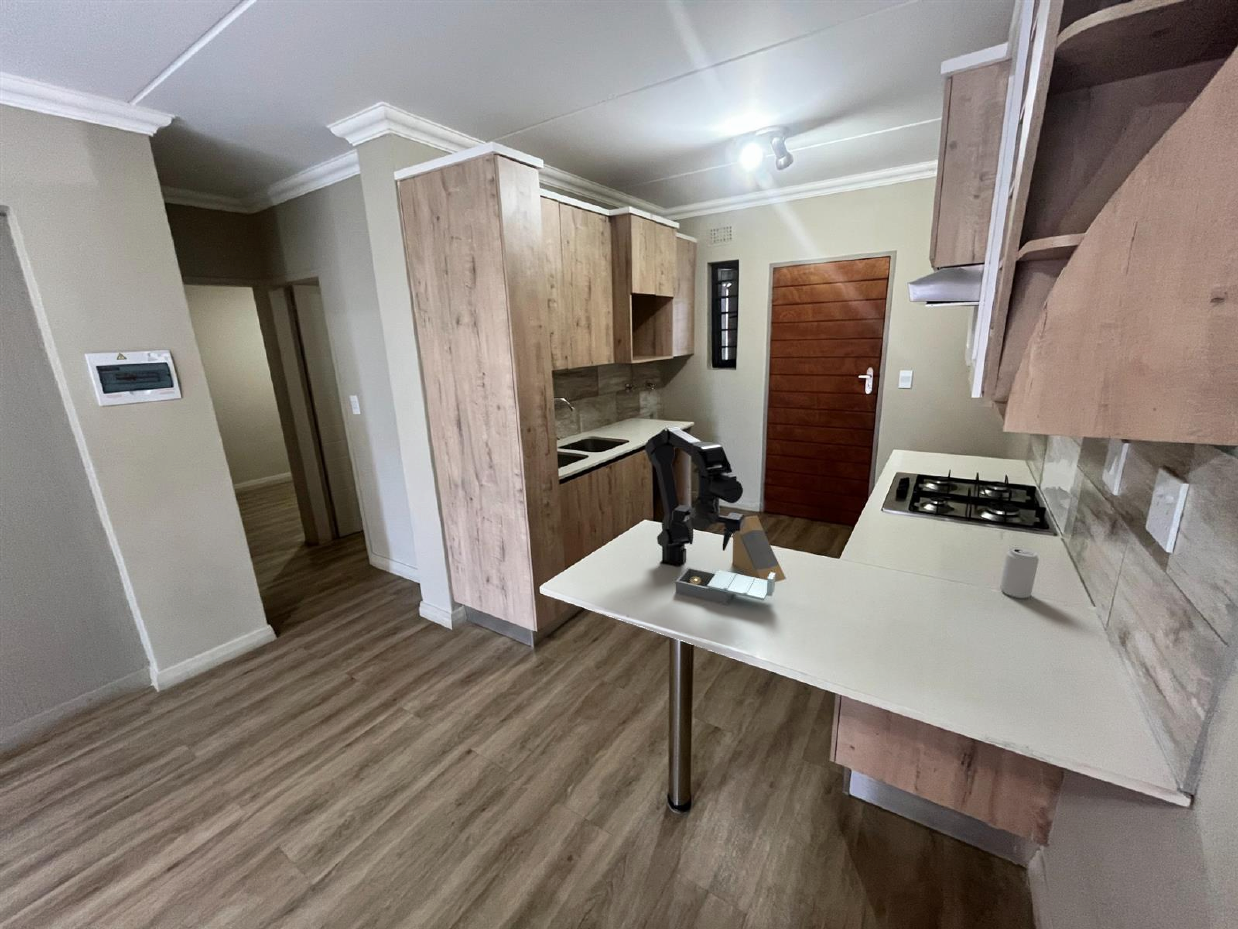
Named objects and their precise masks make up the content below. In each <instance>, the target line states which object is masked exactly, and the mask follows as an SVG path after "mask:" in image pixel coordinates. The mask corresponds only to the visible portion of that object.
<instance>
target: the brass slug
mask: <svg viewBox="0 0 1238 929" xmlns="http://www.w3.org/2000/svg"><path fill="white" fill-rule="evenodd" d="M690 583H691V584H695V585H700V586H701V579H700V578H699V577H691V578H690Z"/></svg>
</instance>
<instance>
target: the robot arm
mask: <svg viewBox="0 0 1238 929" xmlns="http://www.w3.org/2000/svg"><path fill="white" fill-rule="evenodd" d="M644 446H645V447H644V450H645V452H646V455H647V458H648V461H649V463H651V464H652V465H653V467H655V470H656V471H655V472H656V477H657V480H658V486H659V492H660V497H661V501H662V507H663V511H664V517H663V520H662V521H661V532H660V533H659V534H657V537H656V540H657V544H658V545H659V546H661V560H660V562H659V564H662V565H667V566H671V567H676V568H679V567H680V568H681V566H683V565H684V564H685V563H686V562H687V549H686V545H693V542H694V528H699V529H702V530H707V529H709V527H710V526H711V525H717V523H718V524H719V523H720V524H724V527H725V528H724V529H723V530H722V531H723V541H722V552H724V551H725V550H726V548H727V546H728V544H729V541H730V539H731V537H732V536H733V533H735V532H736V531H740V530H741V529H742V528H743V526H744V525H745V519H746V518H745V517H746V516H745V515H744V514H742V513H737V512H730V513H729V514H727V515H720V513H721V508H720V500H721V501H724V502H726V503H728V504H735V503H737V502H738V501H740V500H741V497H742V496H743V492H744V488H743V484H742V483H741V482H740V481H739V480H737V475H734V474H731V473H733V470H732V465H731V463H730V462H729V460H728V457H727V454H726V451H725V450H724V448H723V446H722V445H721V444H718V443H714V442H709V441H708V442H707V441H703V440H700V439H698V438H696V437H695V436H692V435H691V434H690V433H688V432H685V431H684V430H682V429H681V428H680V427H678V426H672V427H665V428H663V429H662V430H661V431H659V433H657V434H655V435H653V436H651V437H650V438H649V439H647V441H646V443H645V445H644ZM676 448H677V449H679V450H681V451H682V452H683V453H685V454H687V455H688V456H689V457H690V461H691V463H693V465H694V466H696V468H694V469H693V471H692V472H693V473H694V474H697V496H696V497H695V503H694V506H693V507H692V506H690V505H681V504H680V499H679V494H678V491H677V489H678V488H677V485H676V479H675V474H674V470H673V465H672V464H673V463H674V459H675V457H676V456H675V455H676V452H675V449H676Z"/></svg>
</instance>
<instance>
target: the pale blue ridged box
mask: <svg viewBox="0 0 1238 929" xmlns="http://www.w3.org/2000/svg"><path fill="white" fill-rule="evenodd" d="M715 573H716V574H715V576H714V577H713V578H712V580H711V581H710V582H709V584H708V585H707V588H710V589H714V590H719V591H723V592H727V593H732V594H733V595H736V596H741V597H746V598H750V599H754V600H758V601H762V602H765V600H766V598H767V596H768V597H772V596H773V594H774V592H775V588H776V582H775V574H776V573H773V572H770V574H769V576H768V579H767V580H763V579H759V578H755V577H751V576H749V575H744V574H739V573H736V572H730V571H724V570H720V569H719V570H717V571H716V572H715Z"/></svg>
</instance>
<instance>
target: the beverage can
mask: <svg viewBox="0 0 1238 929" xmlns="http://www.w3.org/2000/svg"><path fill="white" fill-rule="evenodd" d="M1039 559H1040V558H1039V557H1038V553H1037V552H1036V551H1034V550H1031V549H1029V548H1026V547H1018V546H1013V547H1009V549H1008V551H1006V554H1005V560H1004V564H1003V570H1002V574H1001V579H1000V584H999V589H1000V590H1001V591H1002V593H1004V594H1005V595H1007V596H1009V597H1012V598H1016V599H1026V598H1029V597H1031V596H1032V592H1033V587H1034V584H1035V578H1036V574H1037V569H1038V565H1039Z"/></svg>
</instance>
